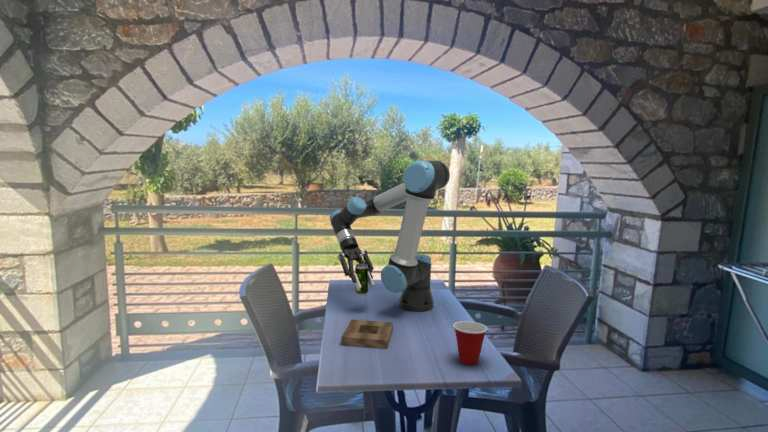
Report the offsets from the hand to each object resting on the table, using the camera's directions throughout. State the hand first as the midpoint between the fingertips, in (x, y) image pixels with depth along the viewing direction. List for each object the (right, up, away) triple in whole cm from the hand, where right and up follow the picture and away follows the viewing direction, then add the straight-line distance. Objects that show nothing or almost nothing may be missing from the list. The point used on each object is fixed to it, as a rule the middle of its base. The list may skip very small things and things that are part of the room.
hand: (366, 287), depth 171 cm
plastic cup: (+35, -18, -37) cm, 53 cm away
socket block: (+2, -15, -20) cm, 25 cm away
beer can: (-2, -3, +4) cm, 5 cm away
